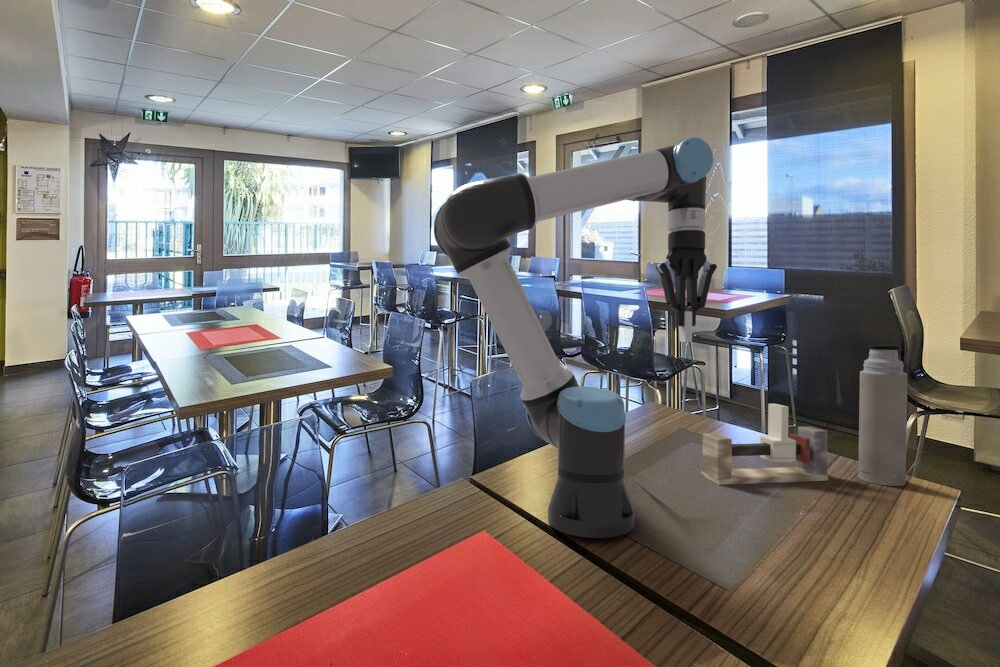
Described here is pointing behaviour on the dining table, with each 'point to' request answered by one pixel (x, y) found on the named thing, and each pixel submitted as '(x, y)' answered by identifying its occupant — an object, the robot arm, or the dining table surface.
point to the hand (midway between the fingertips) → (685, 341)
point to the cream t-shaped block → (779, 436)
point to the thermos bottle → (883, 418)
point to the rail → (743, 476)
